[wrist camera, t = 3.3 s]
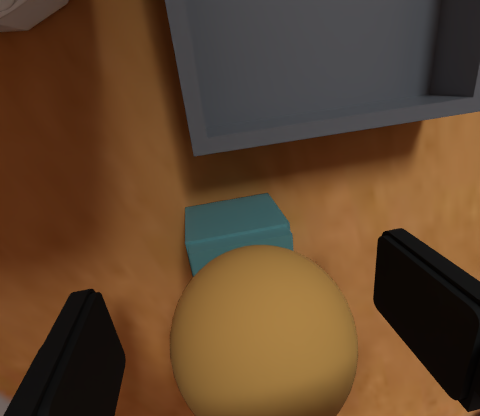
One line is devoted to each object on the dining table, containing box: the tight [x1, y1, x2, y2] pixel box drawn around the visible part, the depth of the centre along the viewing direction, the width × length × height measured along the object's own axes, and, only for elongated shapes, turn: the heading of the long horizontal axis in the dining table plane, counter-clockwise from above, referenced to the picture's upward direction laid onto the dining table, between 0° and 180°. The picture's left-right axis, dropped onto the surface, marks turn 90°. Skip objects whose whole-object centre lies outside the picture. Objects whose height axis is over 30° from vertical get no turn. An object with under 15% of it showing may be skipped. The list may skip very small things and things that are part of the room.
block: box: [185, 193, 293, 277], centre depth 12 cm, size 4×4×4 cm
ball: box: [170, 245, 358, 416], centre depth 8 cm, size 5×5×5 cm
